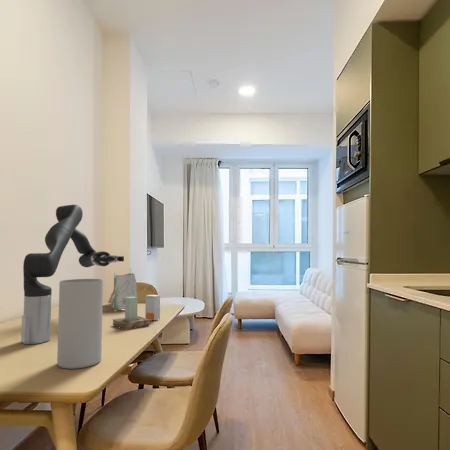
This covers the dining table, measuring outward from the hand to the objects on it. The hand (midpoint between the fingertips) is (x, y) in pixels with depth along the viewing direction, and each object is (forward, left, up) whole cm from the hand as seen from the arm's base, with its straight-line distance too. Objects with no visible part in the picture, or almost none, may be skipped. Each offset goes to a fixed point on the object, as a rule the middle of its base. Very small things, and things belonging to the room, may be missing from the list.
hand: (114, 259), depth 167 cm
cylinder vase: (-33, -49, -30) cm, 66 cm away
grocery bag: (+25, +42, -30) cm, 57 cm away
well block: (+3, -12, -30) cm, 32 cm away
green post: (+3, -12, -29) cm, 32 cm away
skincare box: (+17, -7, -30) cm, 35 cm away
